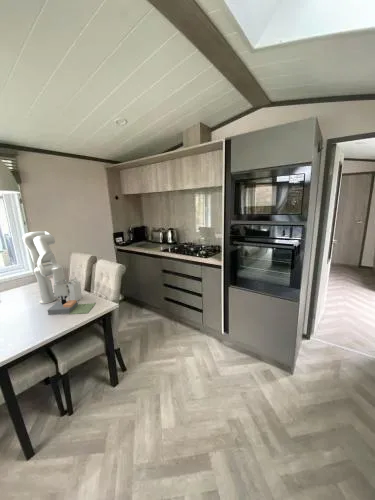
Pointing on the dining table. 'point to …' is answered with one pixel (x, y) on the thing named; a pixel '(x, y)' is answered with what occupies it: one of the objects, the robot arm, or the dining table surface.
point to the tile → (69, 303)
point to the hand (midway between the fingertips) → (64, 303)
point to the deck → (60, 308)
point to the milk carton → (75, 289)
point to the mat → (82, 308)
